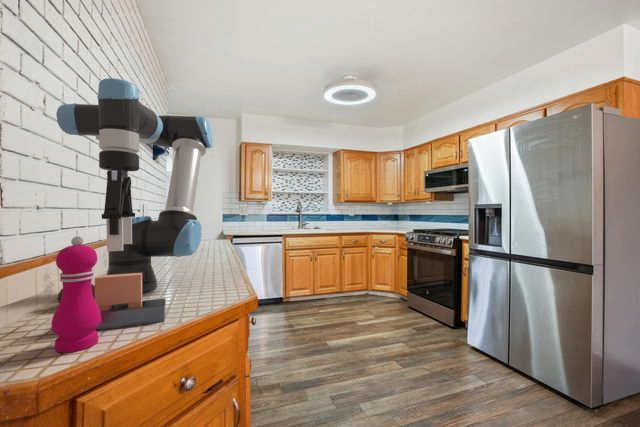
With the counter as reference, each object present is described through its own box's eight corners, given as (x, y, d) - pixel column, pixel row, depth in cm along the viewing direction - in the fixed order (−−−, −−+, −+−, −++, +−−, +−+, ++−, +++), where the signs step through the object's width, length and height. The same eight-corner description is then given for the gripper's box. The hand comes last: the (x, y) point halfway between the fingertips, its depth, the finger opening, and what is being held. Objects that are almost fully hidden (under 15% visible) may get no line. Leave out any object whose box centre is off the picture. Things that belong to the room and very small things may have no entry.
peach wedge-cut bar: (98, 320, 68) (98, 275, 68) (142, 315, 72) (142, 272, 72) (94, 325, 66) (94, 278, 66) (140, 319, 69) (140, 274, 69)
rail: (74, 323, 68) (74, 307, 68) (165, 312, 76) (165, 298, 76) (63, 334, 62) (63, 317, 62) (164, 321, 69) (164, 305, 69)
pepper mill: (74, 356, 52) (74, 238, 52) (40, 352, 54) (40, 237, 54) (110, 339, 59) (110, 235, 60) (79, 336, 61) (80, 235, 61)
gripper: (110, 159, 79) (111, 242, 79) (83, 139, 56) (85, 256, 56) (144, 161, 82) (145, 241, 82) (131, 142, 59) (132, 253, 59)
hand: (120, 247), depth 69 cm, fingers open, 13 cm apart
